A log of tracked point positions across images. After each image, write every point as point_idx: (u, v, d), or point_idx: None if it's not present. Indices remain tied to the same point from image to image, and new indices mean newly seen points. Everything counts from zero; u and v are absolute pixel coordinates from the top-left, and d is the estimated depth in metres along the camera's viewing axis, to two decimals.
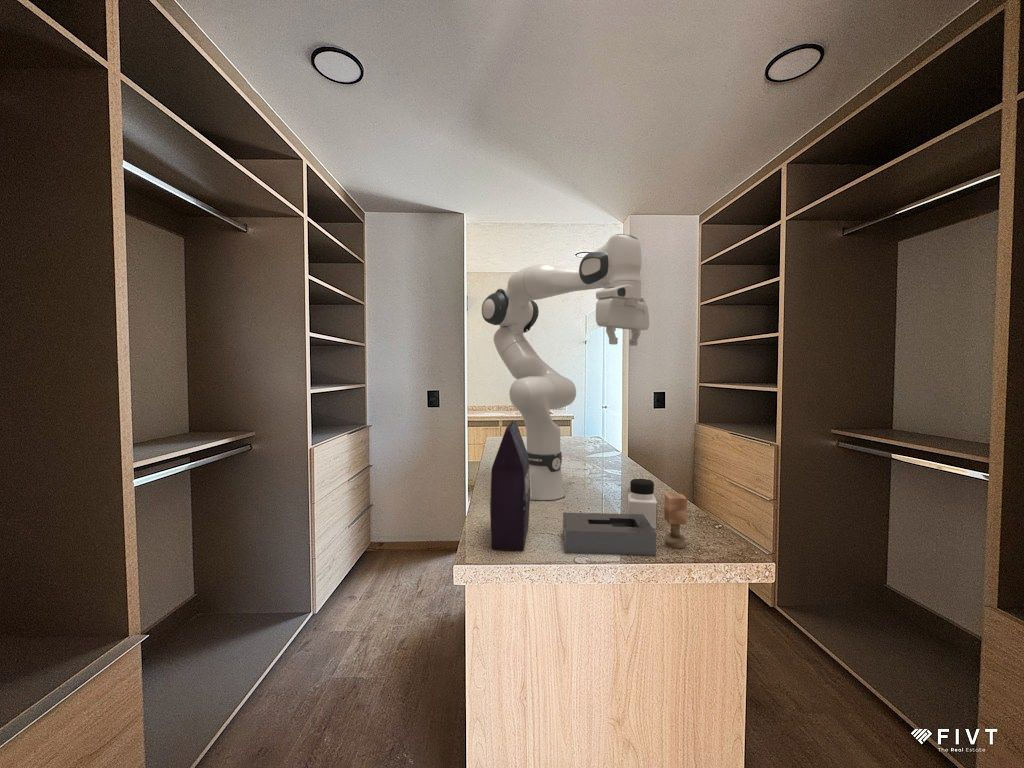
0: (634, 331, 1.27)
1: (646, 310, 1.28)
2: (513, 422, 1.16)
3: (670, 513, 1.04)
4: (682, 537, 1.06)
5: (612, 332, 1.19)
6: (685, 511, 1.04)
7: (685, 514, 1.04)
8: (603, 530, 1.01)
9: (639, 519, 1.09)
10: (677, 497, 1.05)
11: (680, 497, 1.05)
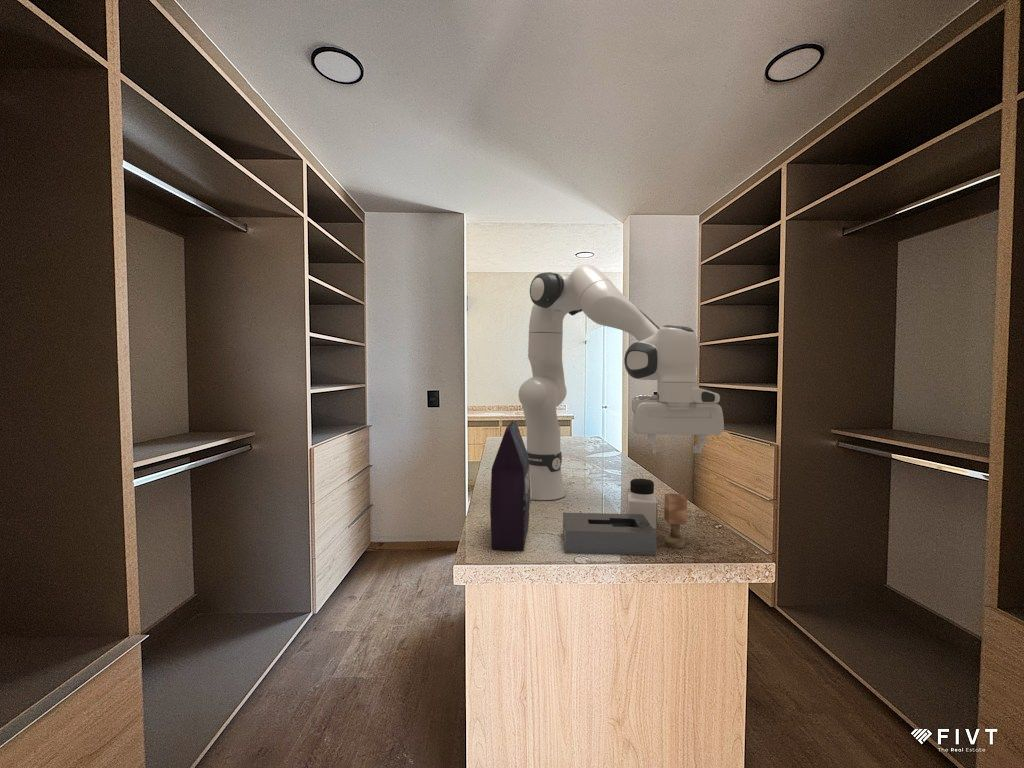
0: None
1: None
2: (513, 422, 1.16)
3: (670, 513, 1.04)
4: (682, 537, 1.06)
5: None
6: (685, 511, 1.04)
7: (685, 514, 1.04)
8: (603, 530, 1.01)
9: (639, 519, 1.09)
10: (677, 497, 1.05)
11: (680, 497, 1.05)
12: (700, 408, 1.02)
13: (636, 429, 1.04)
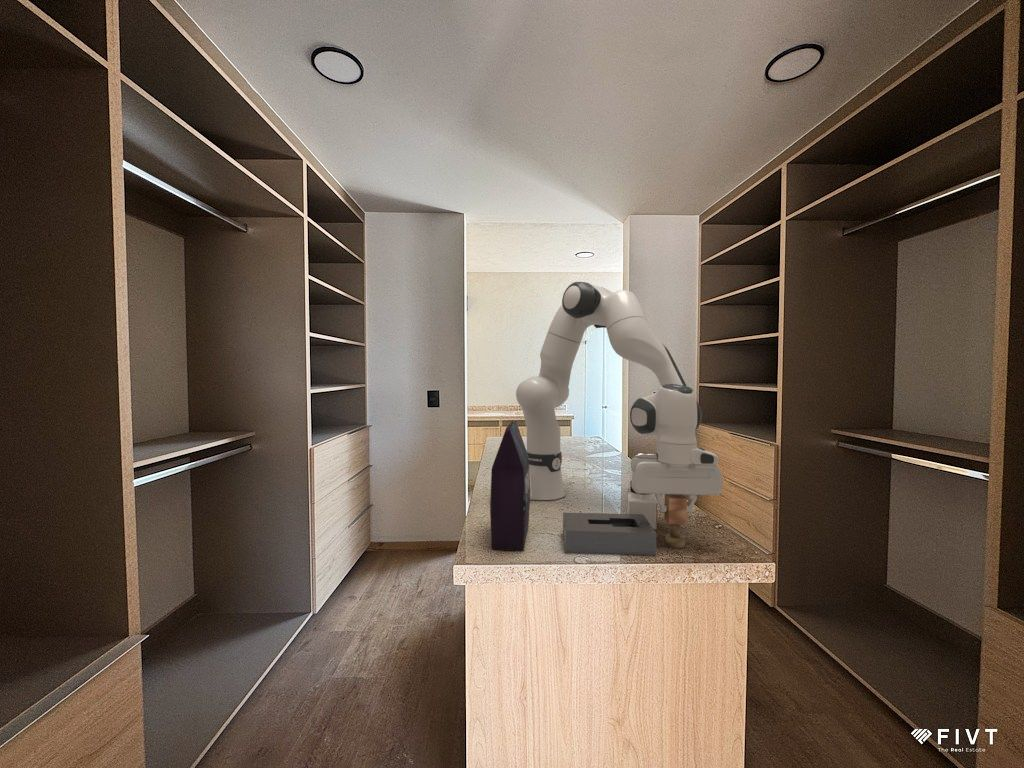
0: None
1: None
2: (513, 422, 1.16)
3: (670, 513, 1.04)
4: (682, 537, 1.06)
5: None
6: (685, 511, 1.04)
7: (685, 514, 1.04)
8: (603, 530, 1.01)
9: (639, 519, 1.09)
10: (677, 497, 1.05)
11: (680, 497, 1.05)
12: (699, 469, 1.03)
13: (635, 488, 1.05)
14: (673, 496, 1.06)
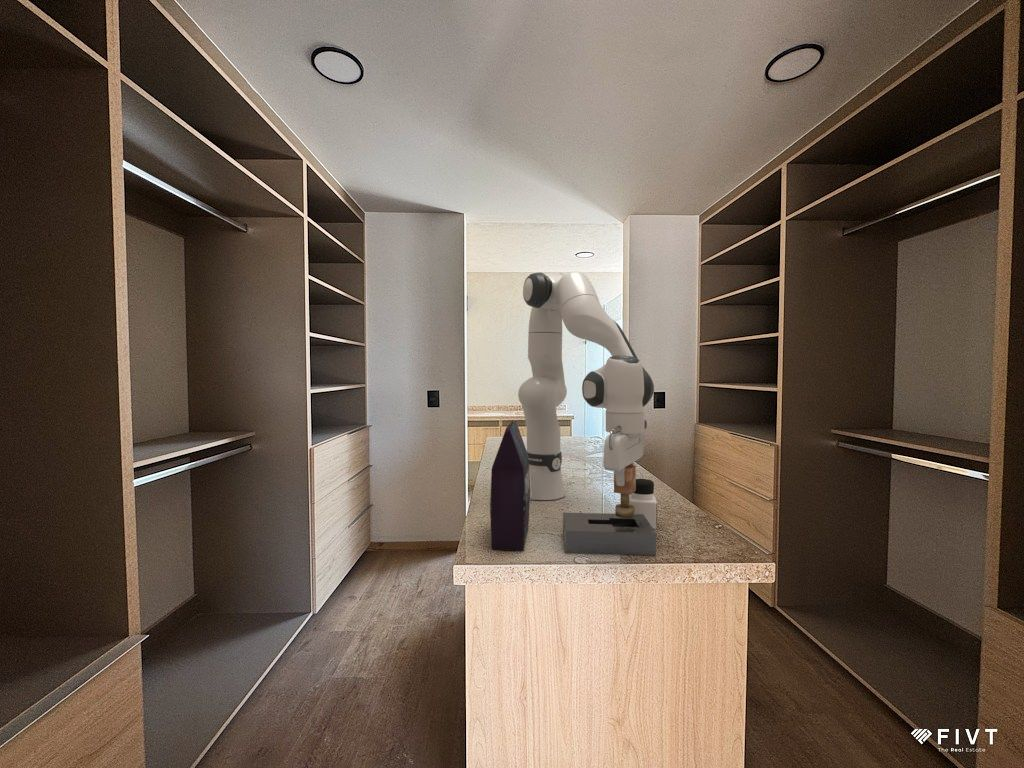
0: None
1: None
2: (513, 422, 1.16)
3: (631, 483, 1.04)
4: (628, 505, 1.08)
5: None
6: (635, 478, 1.07)
7: (635, 481, 1.07)
8: (603, 530, 1.01)
9: (639, 519, 1.09)
10: (629, 466, 1.06)
11: (630, 466, 1.06)
12: (640, 435, 1.09)
13: (619, 466, 0.97)
14: (625, 467, 1.06)
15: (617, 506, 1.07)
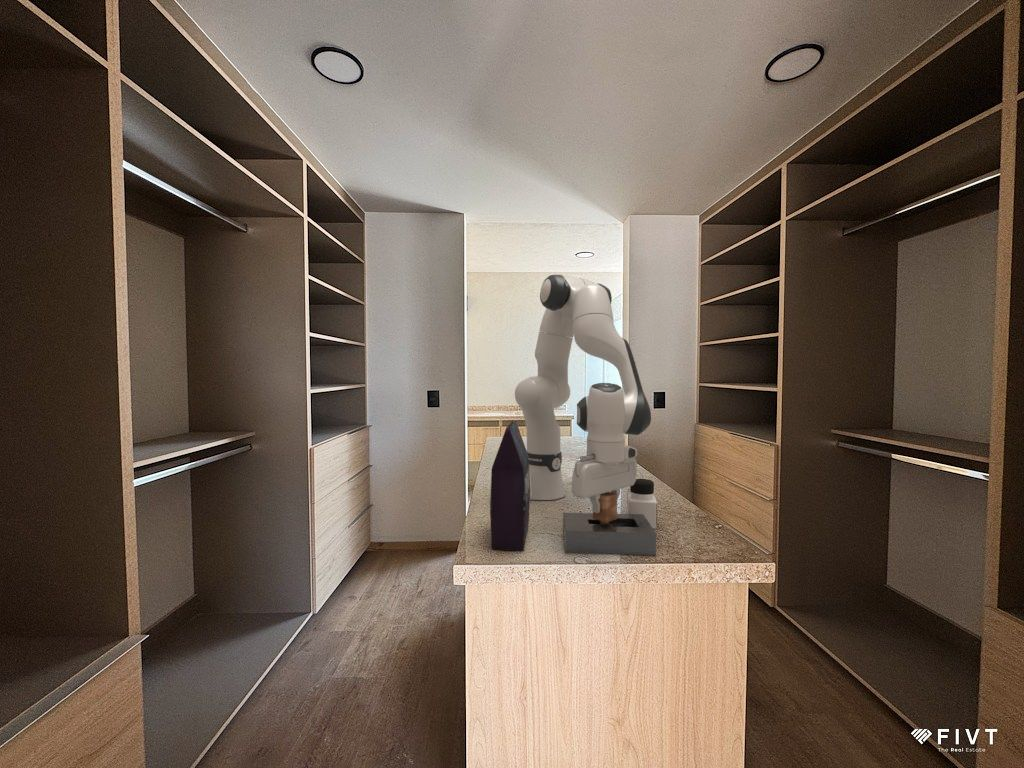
0: None
1: None
2: (513, 422, 1.16)
3: (607, 511, 1.05)
4: None
5: None
6: (616, 506, 1.07)
7: (616, 509, 1.07)
8: (603, 530, 1.01)
9: (639, 519, 1.09)
10: (609, 494, 1.06)
11: (611, 494, 1.07)
12: (625, 463, 1.08)
13: (583, 494, 0.99)
14: (604, 494, 1.06)
15: None
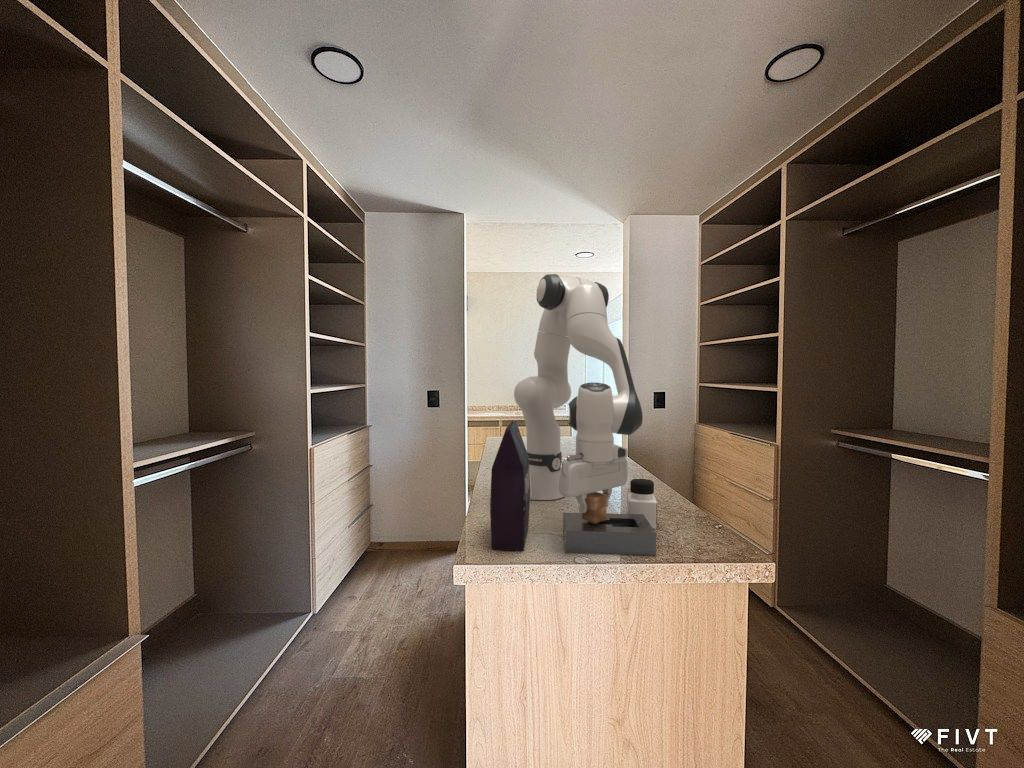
0: None
1: None
2: (513, 422, 1.16)
3: (595, 512, 1.05)
4: None
5: None
6: (605, 507, 1.07)
7: (605, 510, 1.07)
8: (603, 530, 1.01)
9: (639, 519, 1.09)
10: (598, 495, 1.06)
11: (600, 494, 1.07)
12: (614, 463, 1.08)
13: (569, 493, 1.00)
14: (593, 495, 1.06)
15: None
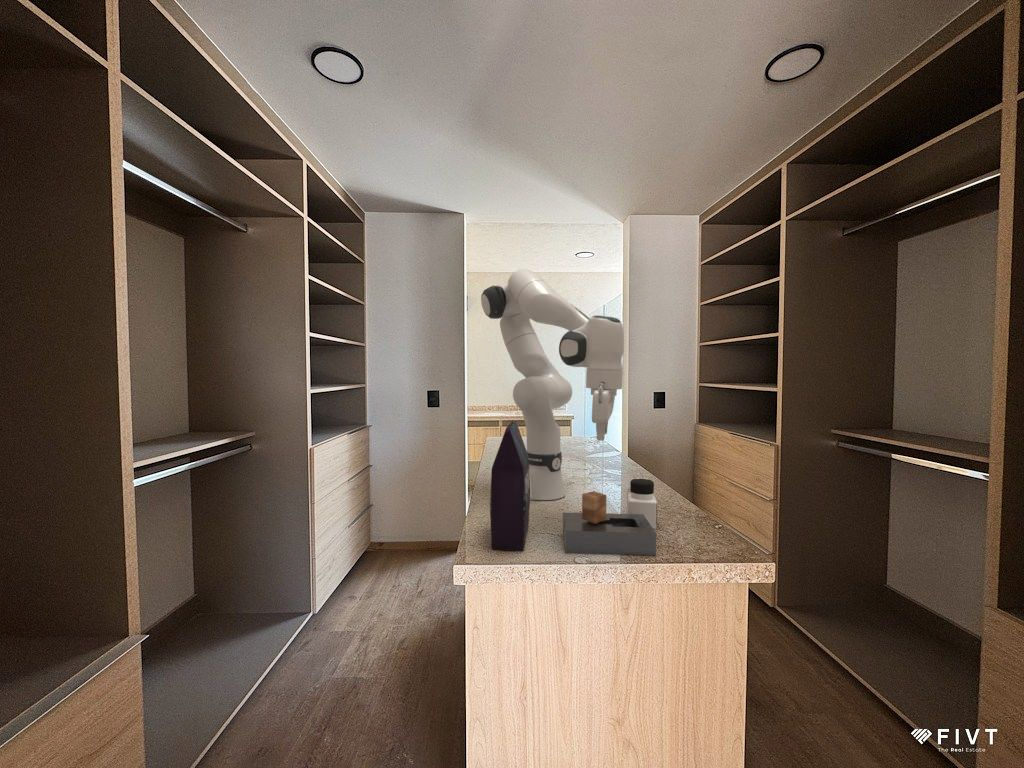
0: None
1: None
2: (513, 422, 1.16)
3: (595, 512, 1.05)
4: None
5: None
6: (605, 507, 1.07)
7: (605, 510, 1.07)
8: (603, 530, 1.01)
9: (639, 519, 1.09)
10: (598, 495, 1.06)
11: (600, 494, 1.07)
12: None
13: (607, 418, 1.02)
14: (593, 495, 1.06)
15: None
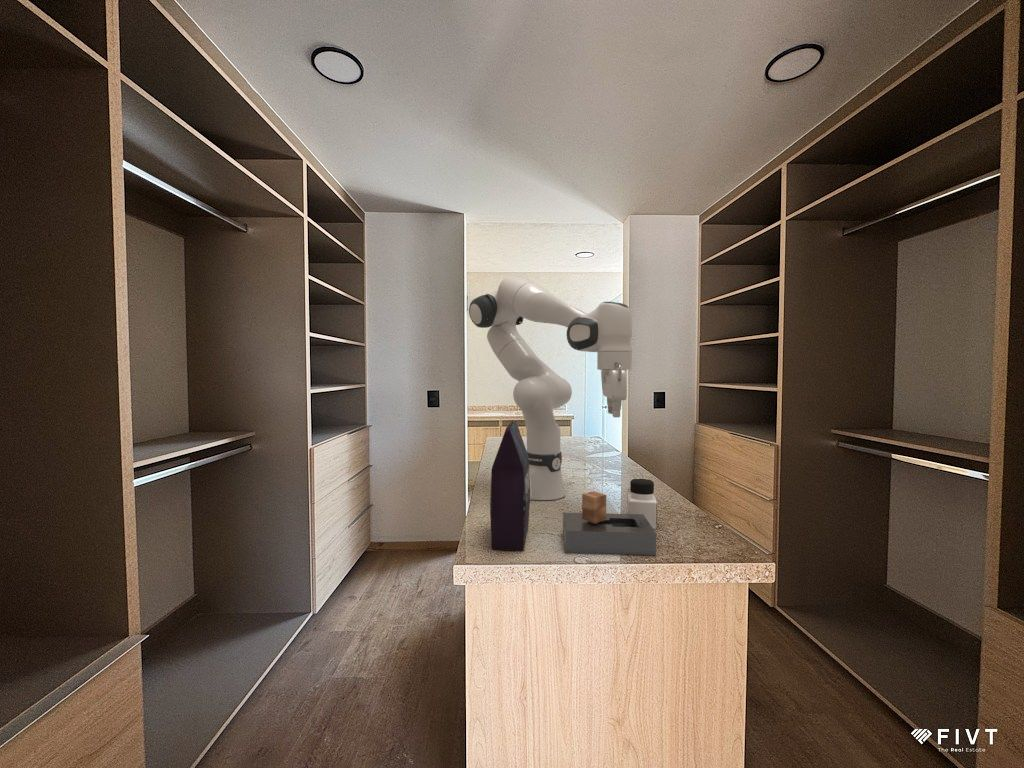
0: None
1: (611, 378, 1.11)
2: (513, 422, 1.16)
3: (595, 512, 1.05)
4: None
5: None
6: (605, 507, 1.07)
7: (605, 510, 1.07)
8: (603, 530, 1.01)
9: (639, 519, 1.09)
10: (598, 495, 1.06)
11: (600, 494, 1.07)
12: None
13: (626, 395, 1.10)
14: (593, 495, 1.06)
15: None
